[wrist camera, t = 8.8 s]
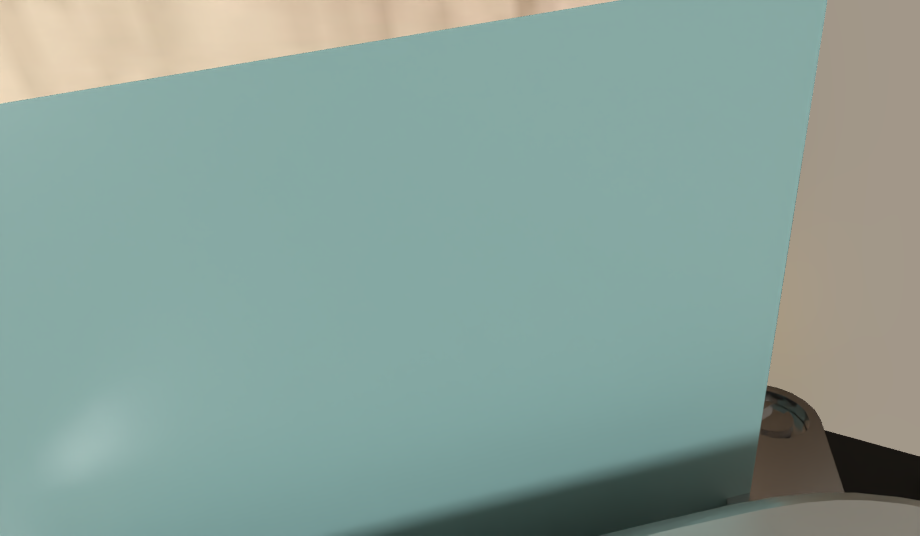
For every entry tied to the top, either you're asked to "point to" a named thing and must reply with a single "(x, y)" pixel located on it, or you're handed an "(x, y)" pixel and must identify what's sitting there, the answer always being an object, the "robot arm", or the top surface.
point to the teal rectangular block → (406, 280)
